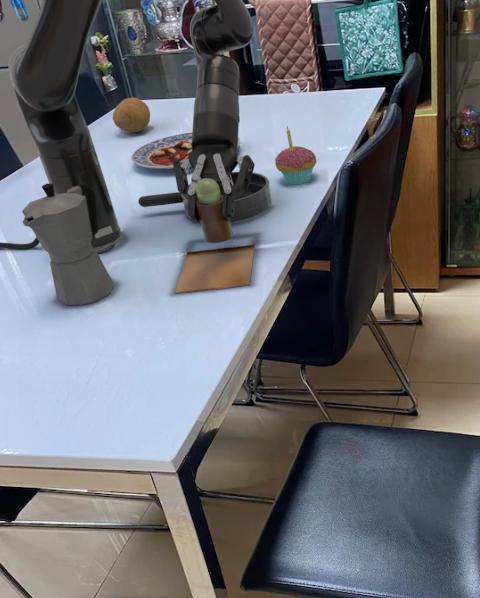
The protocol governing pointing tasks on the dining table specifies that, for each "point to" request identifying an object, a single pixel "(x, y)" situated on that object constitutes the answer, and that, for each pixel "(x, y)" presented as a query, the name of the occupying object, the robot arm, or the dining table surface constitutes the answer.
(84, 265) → the coffeepot
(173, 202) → the pan handle
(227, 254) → the placemat
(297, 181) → the cupcake
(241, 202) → the pan
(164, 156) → the ceramic plate
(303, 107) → the dining table surface
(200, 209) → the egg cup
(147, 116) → the potato
